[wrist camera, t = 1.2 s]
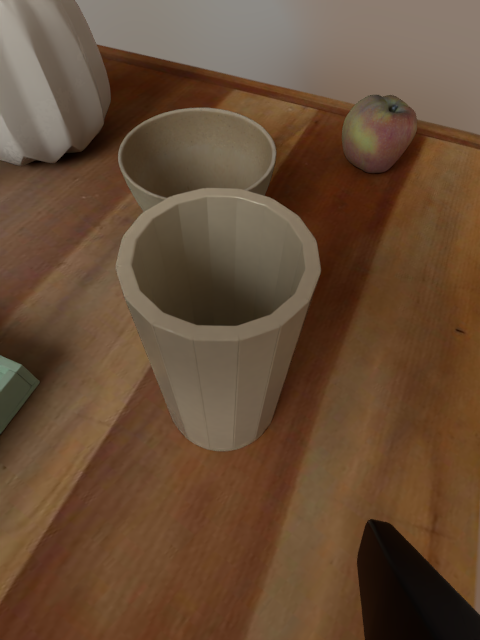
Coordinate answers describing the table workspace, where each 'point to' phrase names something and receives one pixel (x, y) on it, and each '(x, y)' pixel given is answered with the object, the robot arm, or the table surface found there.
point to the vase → (48, 81)
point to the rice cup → (219, 306)
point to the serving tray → (13, 389)
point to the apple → (378, 132)
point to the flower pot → (195, 154)
